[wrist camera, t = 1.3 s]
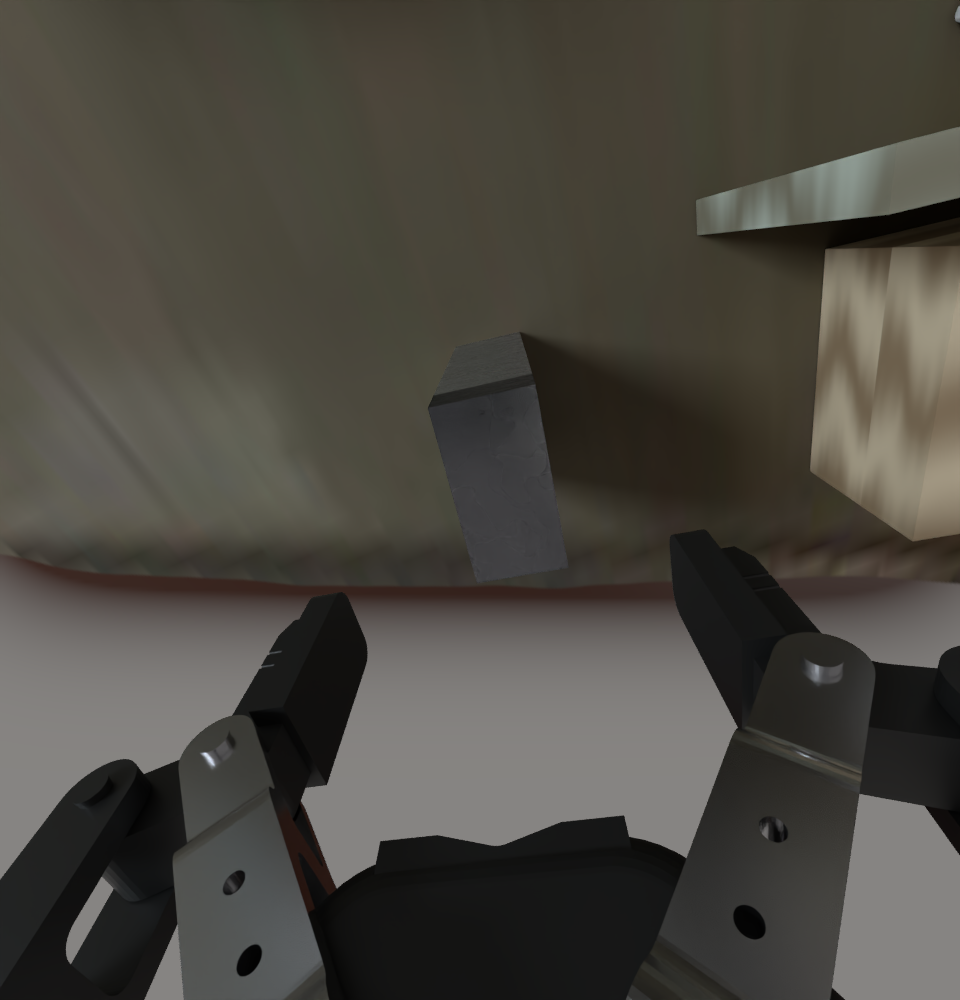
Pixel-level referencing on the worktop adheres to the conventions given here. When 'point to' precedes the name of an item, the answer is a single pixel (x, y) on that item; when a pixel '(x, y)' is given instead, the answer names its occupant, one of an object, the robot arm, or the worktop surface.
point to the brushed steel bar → (498, 460)
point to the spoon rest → (957, 15)
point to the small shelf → (879, 326)
